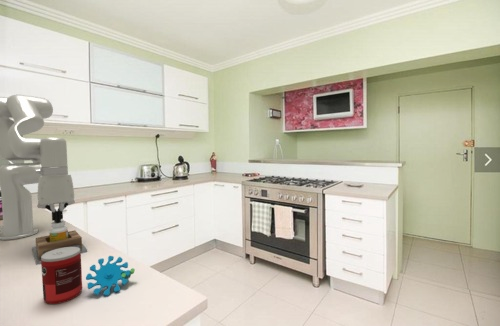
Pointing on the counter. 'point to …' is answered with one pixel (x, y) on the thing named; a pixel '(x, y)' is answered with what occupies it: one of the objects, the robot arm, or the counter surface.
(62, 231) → the supplement bottle
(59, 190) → the robot arm
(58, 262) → the canned food
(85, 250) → the jig plate
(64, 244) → the frame
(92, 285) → the gear
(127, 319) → the counter surface
